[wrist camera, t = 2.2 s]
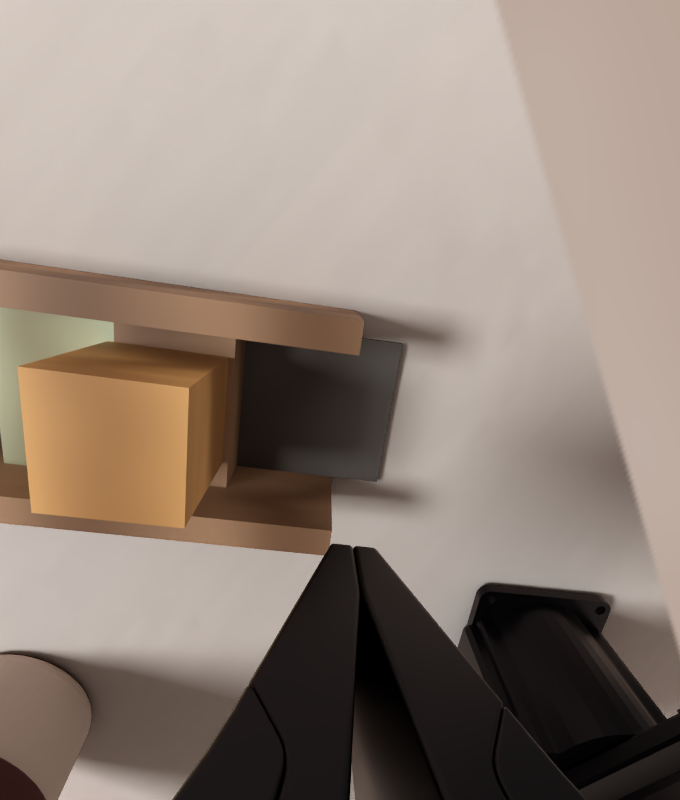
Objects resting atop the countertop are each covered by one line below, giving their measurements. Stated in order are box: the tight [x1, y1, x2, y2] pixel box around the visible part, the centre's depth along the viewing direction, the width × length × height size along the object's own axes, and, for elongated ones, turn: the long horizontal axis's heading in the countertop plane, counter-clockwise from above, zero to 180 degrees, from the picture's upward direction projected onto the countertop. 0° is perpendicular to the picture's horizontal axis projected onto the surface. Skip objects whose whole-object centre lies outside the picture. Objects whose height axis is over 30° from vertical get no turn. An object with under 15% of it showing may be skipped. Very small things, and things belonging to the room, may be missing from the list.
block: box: [17, 341, 229, 528], centre depth 12 cm, size 4×4×4 cm
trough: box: [0, 260, 403, 555], centre depth 14 cm, size 20×8×4 cm, turn 82°
